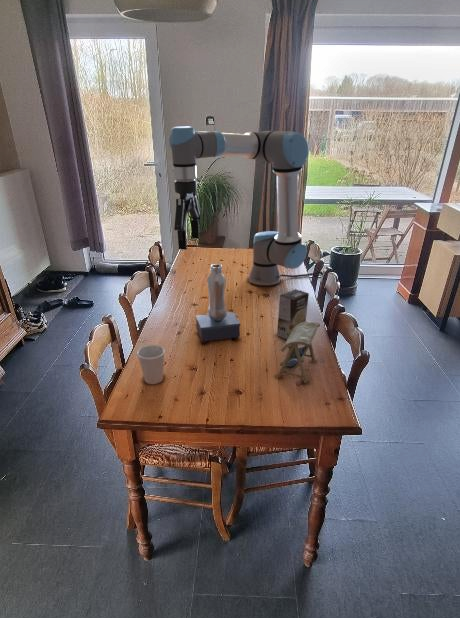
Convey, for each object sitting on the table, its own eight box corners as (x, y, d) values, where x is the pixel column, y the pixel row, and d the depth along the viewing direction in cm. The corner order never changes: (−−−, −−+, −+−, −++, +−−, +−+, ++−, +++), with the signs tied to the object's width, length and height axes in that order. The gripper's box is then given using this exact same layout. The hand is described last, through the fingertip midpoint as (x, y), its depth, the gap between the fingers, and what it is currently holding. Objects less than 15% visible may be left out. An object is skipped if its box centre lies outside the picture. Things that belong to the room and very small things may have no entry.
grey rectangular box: (233, 328, 167) (233, 311, 163) (240, 340, 158) (240, 323, 154) (196, 332, 164) (195, 315, 160) (201, 345, 155) (200, 327, 151)
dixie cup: (144, 388, 132) (140, 360, 126) (137, 375, 138) (133, 347, 133) (170, 382, 135) (168, 355, 129) (162, 369, 141) (160, 342, 136)
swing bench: (288, 356, 149) (292, 317, 141) (316, 361, 146) (321, 321, 138) (276, 378, 137) (279, 336, 129) (306, 384, 134) (311, 342, 126)
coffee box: (289, 341, 158) (293, 300, 149) (276, 335, 162) (278, 295, 153) (305, 333, 163) (309, 293, 155) (291, 327, 167) (295, 288, 159)
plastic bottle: (224, 324, 154) (224, 269, 143) (206, 322, 155) (204, 268, 144) (228, 316, 159) (228, 263, 149) (210, 314, 160) (209, 262, 150)
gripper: (187, 173, 155) (191, 233, 166) (160, 186, 135) (166, 253, 146) (207, 174, 153) (209, 234, 165) (183, 187, 133) (187, 254, 144)
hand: (189, 243), depth 155 cm, fingers open, 13 cm apart
